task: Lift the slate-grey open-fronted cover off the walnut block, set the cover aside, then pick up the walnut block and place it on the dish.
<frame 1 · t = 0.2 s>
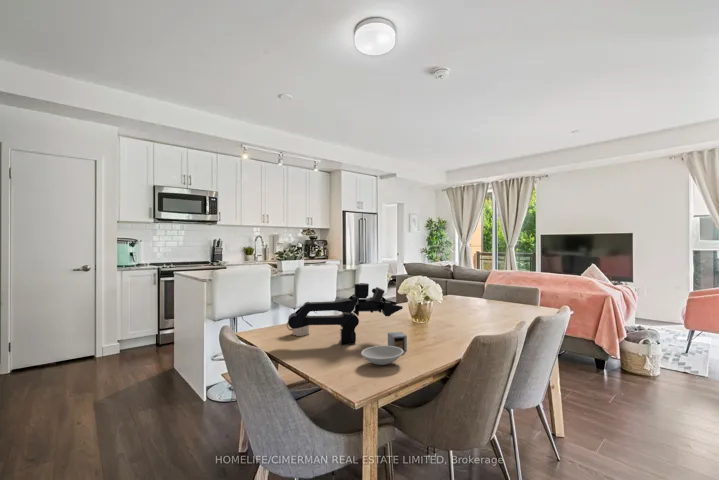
hand: (399, 305, 167), 17 cm above the table, tool horizontal, fingers open, 9 cm apart
grey cover: (397, 348, 153), on the table
teacup with lid: (298, 334, 176), on the table
walnut block: (397, 349, 153), on the table
dish: (382, 365, 134), on the table
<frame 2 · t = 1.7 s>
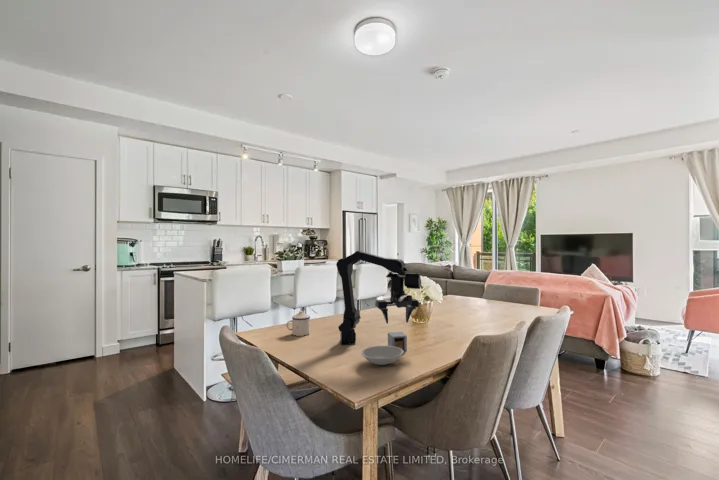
hand: (397, 322, 153), 11 cm above the table, tool pointing down, fingers open, 9 cm apart
nothing on the table moved.
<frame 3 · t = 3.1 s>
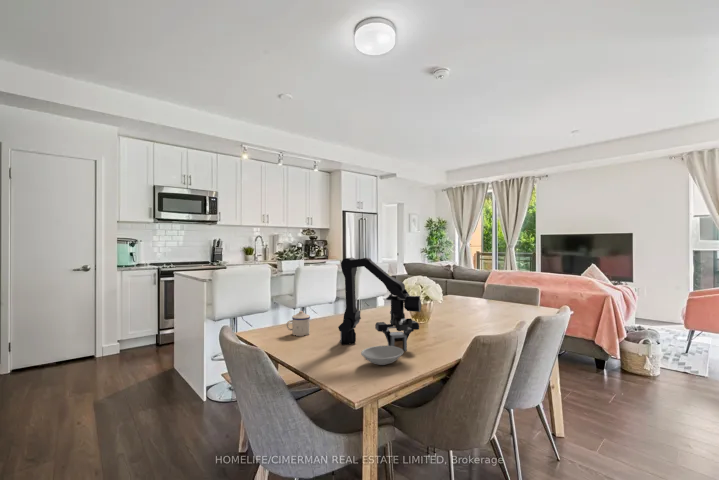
hand: (397, 345, 153), 2 cm above the table, tool pointing down, fingers closed on grey cover, 7 cm apart
grey cover: (397, 348, 153), on the table, touching gripper
everything else where it was.
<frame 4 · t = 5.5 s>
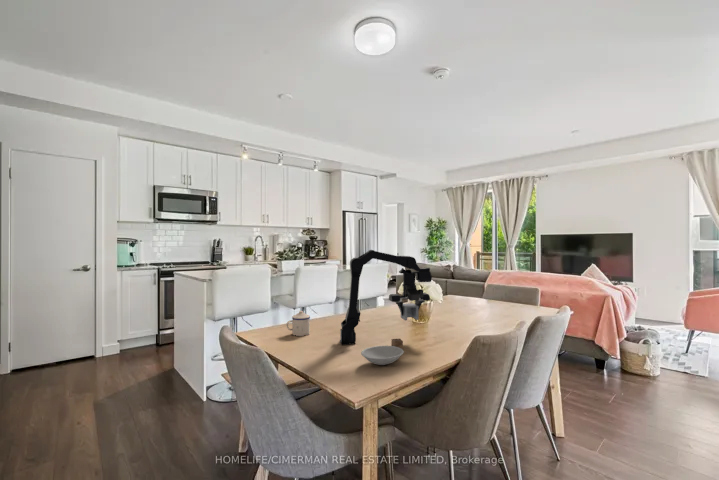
hand: (409, 315, 165), 12 cm above the table, tool pointing down, fingers closed on grey cover, 7 cm apart
grey cover: (409, 318, 165), point 11 cm above the table, touching gripper
everything else where it was.
when the fingers open (3 cm above the table, at t = 7.8 s): grey cover drops 1 cm, on the table.
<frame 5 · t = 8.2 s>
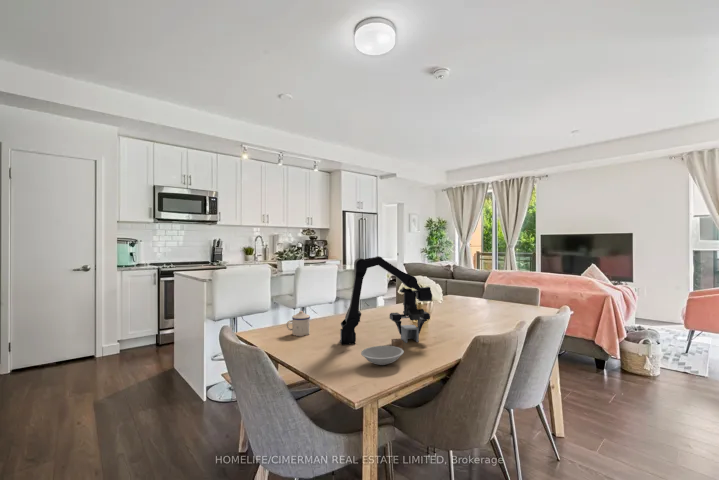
hand: (409, 333, 166), 3 cm above the table, tool pointing down, fingers open, 9 cm apart
grey cover: (409, 340, 166), on the table
everything else where it was.
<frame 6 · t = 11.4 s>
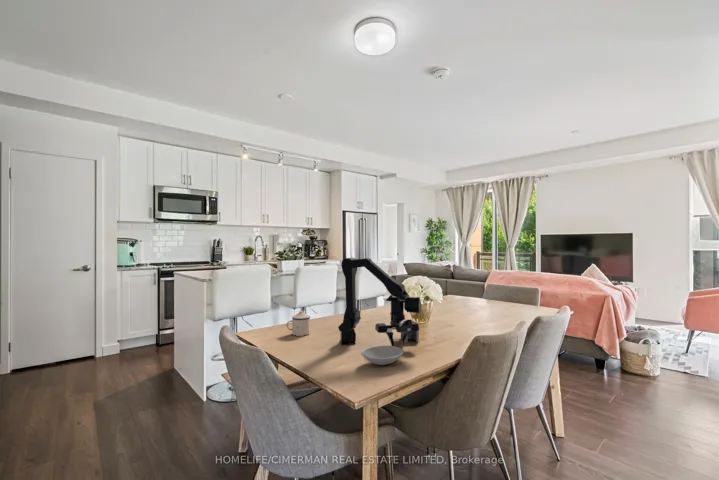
hand: (397, 346, 153), 1 cm above the table, tool pointing down, fingers closed on walnut block, 4 cm apart
walnut block: (397, 348, 153), on the table, touching gripper
everything else where it was.
when the fingers open (6 cm above the table, at t = 15.5 s): walnut block stays where it is, resting on dish.
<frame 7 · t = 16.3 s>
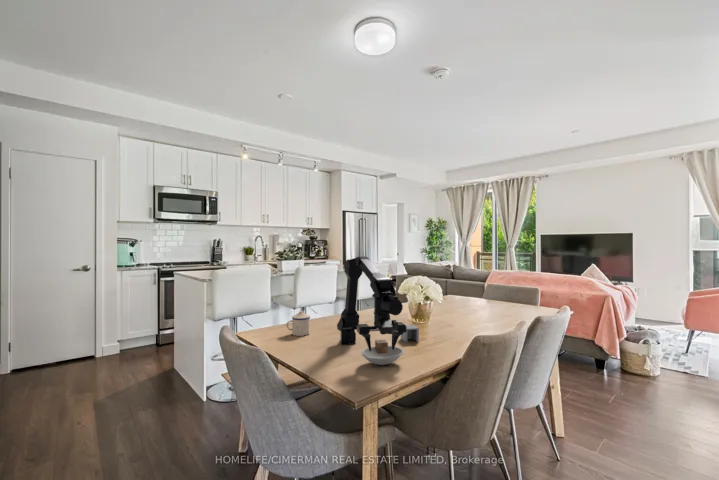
hand: (381, 350, 134), 6 cm above the table, tool pointing down, fingers open, 9 cm apart
walnut block: (381, 351, 135), point 5 cm above the table, touching dish
dish: (382, 365, 134), on the table, touching walnut block
everything else where it was.
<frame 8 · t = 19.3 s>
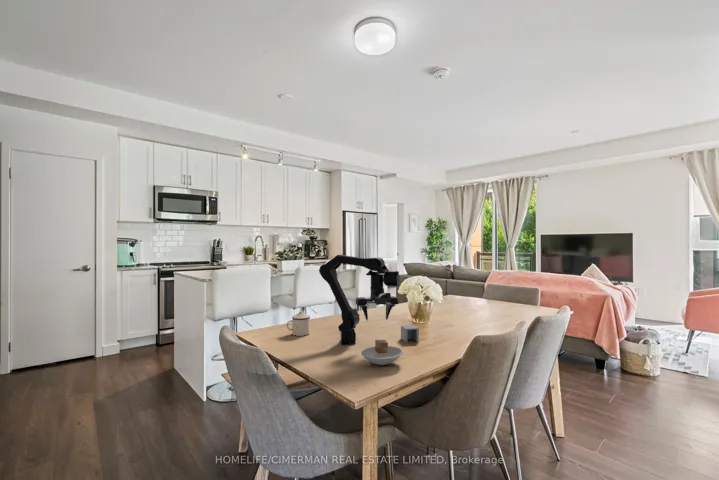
hand: (376, 319, 157), 12 cm above the table, tool pointing down, fingers open, 9 cm apart
nothing on the table moved.
at the end: walnut block 0.4 cm from the dish (horizontally); walnut block touching dish; grey cover moved 14.7 cm from its start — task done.
